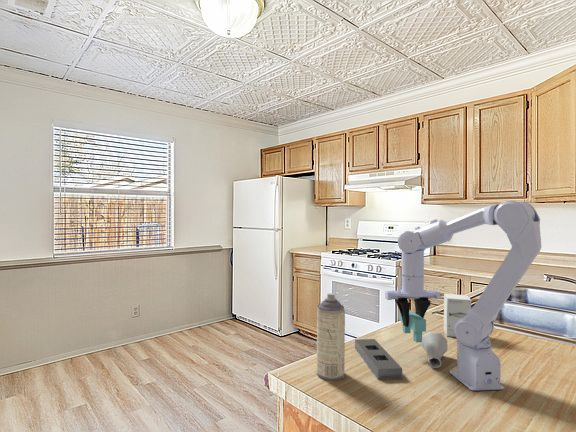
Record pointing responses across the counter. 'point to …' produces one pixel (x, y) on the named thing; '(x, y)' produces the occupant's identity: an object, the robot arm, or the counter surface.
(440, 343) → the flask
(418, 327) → the clip
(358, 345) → the rail
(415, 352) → the counter surface
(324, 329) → the aerosol can
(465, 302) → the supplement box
